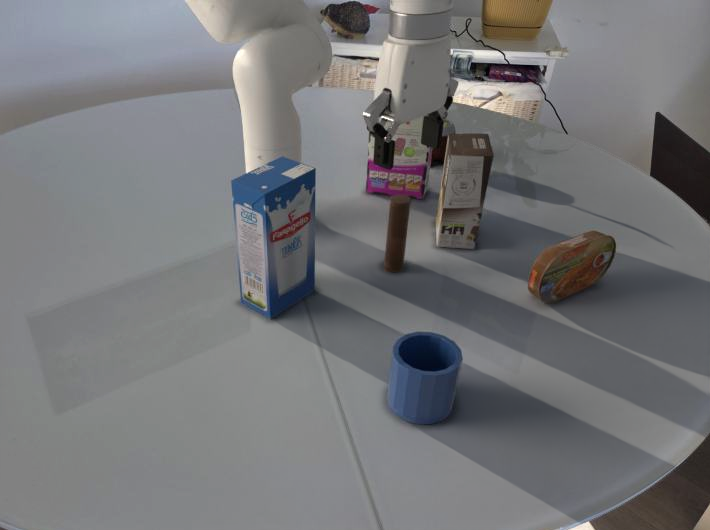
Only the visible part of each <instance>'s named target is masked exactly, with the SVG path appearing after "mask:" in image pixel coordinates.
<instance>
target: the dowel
mask: <svg viewBox="0 0 710 530" xmlns="http://www.w3.org/2000/svg"><path fill="white" fill-rule="evenodd" d="M411 201H412V198H410V197H409V196H407V195H403V194H397V195H393V196H390V198H389V209H388V220H387V230H386V231H387V232H386V242H385V250H384V251H385V253H384V262H383V263H384V264H383V268H384V270H385V271H388V272H390V273H398V272H401V271H402V270H403V269H404V262H405V254H406V246H407V237H408V229H409V221H410V220H409V219H410V210H411V205H412V203H411Z"/></svg>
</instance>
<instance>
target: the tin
mask: <svg viewBox="0 0 710 530" xmlns="http://www.w3.org/2000/svg"><path fill="white" fill-rule="evenodd" d="M616 251H617V242H616V239H615V238H614V237H613V236H611V235H608V234H605V233H602V232H599V231H598V230H597V231H596V230H590V231H586V232H583V233H581V234H579V235H575V236H574V237H571V238H569V239H568V238H567V239H566V240H563V241H561V242H558V243H555V244H553V245H551V246H549V247H547V248H546V249H545V250H543V251H542V252H541V253H540V254H539V255H538V257H536V259H535V261H534V262H533V263H532V265H531V267H530V271H529V275H528V280H527V290H528V292H529V293H530V294H531V296H533V297H535V298H537V299H539V300H540V301H541V302H542V303H545V304H553V303H556V302H558V301H560V300H563V299H565V298H567V297H570V296H571V295H574V294H577V293H579V292H581V291H584V290H585V289H588V288H590V287H591V286H593V285H595V284H597V283H598V282H599V281H600V280H601V279H602V278H603V277H604V275H605V274H606V273H607V271H608V270H609V269H610V268H611V265H612V263H613V260H614V258H615V257H616V256H615V255H616Z"/></svg>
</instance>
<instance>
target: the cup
mask: <svg viewBox="0 0 710 530" xmlns="http://www.w3.org/2000/svg"><path fill="white" fill-rule="evenodd" d="M463 360H464V359H463V352H462V349H461V348H460V347H459V345H458V344H457V343H456V342H455V341H454V340H452V338H449V337H448V336H446V335H443V334H440V333H437V332H432V331H413V332H409V333H406V334H403V335H402V336H401V337H399V338H398V339H397V340H396V341H395V342H394V344H393V345H392V352H391V360H390V367H389V368H390V369H389V377H388V386H387V397H386V398H387V404H388V407H389V409H390V411H392V413H394V415H396V416H397V417H398V418H400V419H401V420H404V421H405V422H408V423H411V424H415V425H433V424H436V423H440V422H442V421H443V420H445V419H446V418H447V417H449V415H450V413H451V412H452V410H453V405H454V403H455V398H456V393H457V390H458V389H457V388H458V384H459V378H460V374H461V369H462V365H463Z"/></svg>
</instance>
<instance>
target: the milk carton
mask: <svg viewBox="0 0 710 530" xmlns="http://www.w3.org/2000/svg"><path fill="white" fill-rule="evenodd" d="M316 170H317V168H316V167H313V166H311V165H308V164H306V163H302V162H301V163H299V162H297V161H294V160H291V159H288V158H285V157H280V158H278V159H276V160H273V161H271V162H269V163H267V164H265V165H263V166H261V167H259V168H257V169H254V170H252V171H250V172H248V173H246V172H245V173H243V174H242V175H240V176H238V177H235V178H234V179H233V178H232V180H230V182H231V183H230V184H231V195H232V207H233V221H234V232H235V244H236V246H235V247H236V257H237V268H238V269H237V271H238V280H239V293H240V303H241V304H242V305H244V306H246V307H248V308H250V309H251V310H253V311H254V312H256V313H259V314H260V315H262V316H263V317H265V318H267V319H269V320H271V319H273V318H274V317H277V316H278V315H279V314H281V313H282V312H283V311H285V310H287V309H288V308H290V307H291V306H293V305H294V304H296V303H298V302H299V301H301V300H302V299H304V298H305V297H307V296H309V295H310V294H311V293H313V292H314V291H315V290H316V289H315V283H316V282H315V281H316V280H315V279H316V271H315V270H316V269H315V268H316V184H317V183H316V182H317V181H316V177H317V175H316V174H317V171H316Z"/></svg>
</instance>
